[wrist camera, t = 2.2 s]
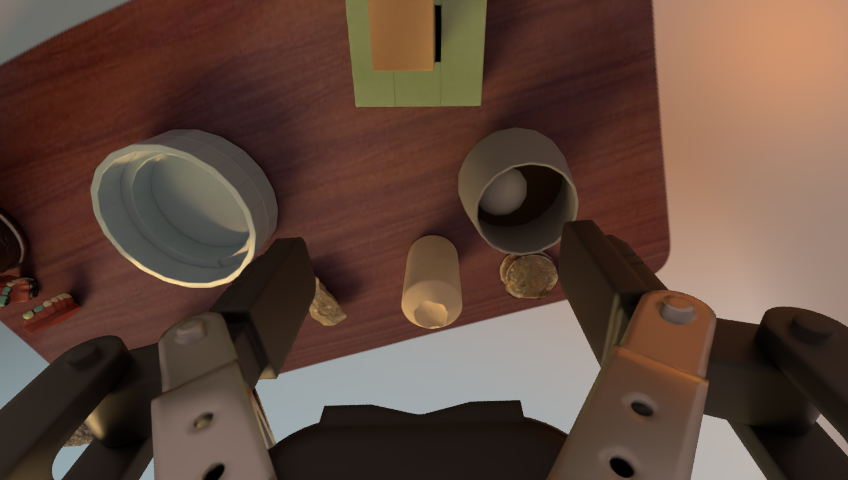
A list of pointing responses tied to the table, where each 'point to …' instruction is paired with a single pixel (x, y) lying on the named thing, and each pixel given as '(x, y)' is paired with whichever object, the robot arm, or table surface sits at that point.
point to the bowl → (185, 207)
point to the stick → (402, 35)
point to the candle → (432, 283)
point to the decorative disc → (528, 275)
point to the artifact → (325, 306)
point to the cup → (518, 191)
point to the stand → (443, 86)
